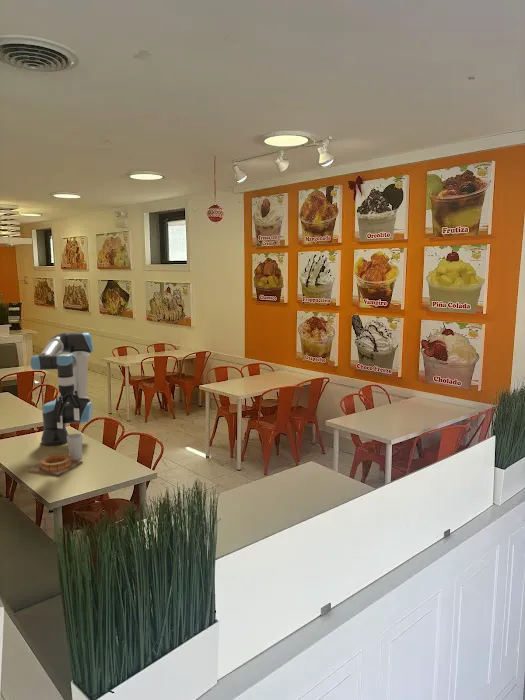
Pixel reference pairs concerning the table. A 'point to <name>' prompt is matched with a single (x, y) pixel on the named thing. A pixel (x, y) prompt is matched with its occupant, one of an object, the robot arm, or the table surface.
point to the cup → (75, 446)
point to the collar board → (57, 472)
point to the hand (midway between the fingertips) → (68, 424)
